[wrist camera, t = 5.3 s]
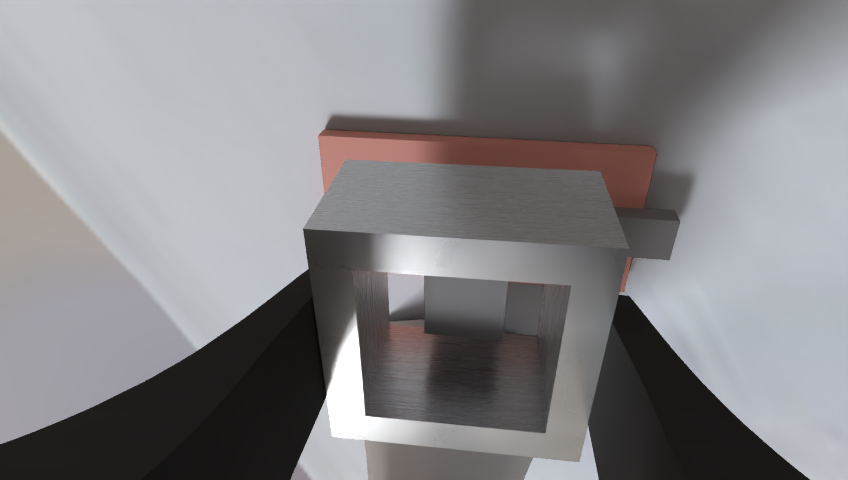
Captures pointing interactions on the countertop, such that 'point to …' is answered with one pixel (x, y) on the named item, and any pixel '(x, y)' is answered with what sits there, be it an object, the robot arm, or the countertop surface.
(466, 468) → the flask
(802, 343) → the countertop surface
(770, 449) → the robot arm
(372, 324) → the link
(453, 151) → the keeper hook
